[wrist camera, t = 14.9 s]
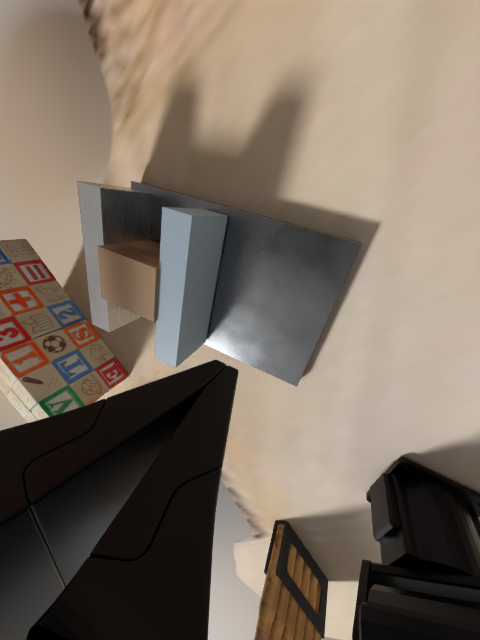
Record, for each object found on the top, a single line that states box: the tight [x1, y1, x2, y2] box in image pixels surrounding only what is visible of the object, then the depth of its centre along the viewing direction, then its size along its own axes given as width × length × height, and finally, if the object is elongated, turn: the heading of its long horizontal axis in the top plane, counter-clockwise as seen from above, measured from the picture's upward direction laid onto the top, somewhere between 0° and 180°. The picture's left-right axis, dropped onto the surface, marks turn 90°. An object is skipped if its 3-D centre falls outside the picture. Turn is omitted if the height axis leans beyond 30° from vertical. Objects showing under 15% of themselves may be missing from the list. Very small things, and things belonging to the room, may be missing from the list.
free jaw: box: [155, 207, 228, 368], centre depth 18 cm, size 2×11×4 cm, turn 169°
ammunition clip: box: [254, 521, 328, 640], centre depth 25 cm, size 11×2×12 cm, turn 38°
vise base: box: [77, 181, 362, 386], centre depth 18 cm, size 18×12×6 cm, turn 77°
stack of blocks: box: [0, 239, 129, 423], centre depth 26 cm, size 21×6×12 cm, turn 38°
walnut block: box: [97, 240, 160, 322], centre depth 19 cm, size 5×4×5 cm
